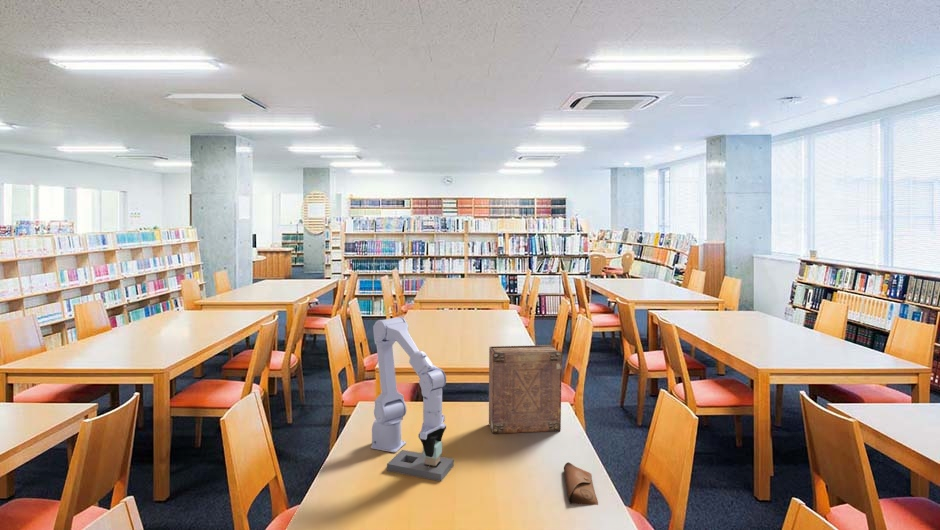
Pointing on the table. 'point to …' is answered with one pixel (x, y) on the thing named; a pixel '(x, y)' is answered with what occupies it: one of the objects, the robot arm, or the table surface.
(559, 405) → the book
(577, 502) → the sunglasses case
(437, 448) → the plug
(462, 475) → the table surface
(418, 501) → the table surface
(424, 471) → the grey peg board
